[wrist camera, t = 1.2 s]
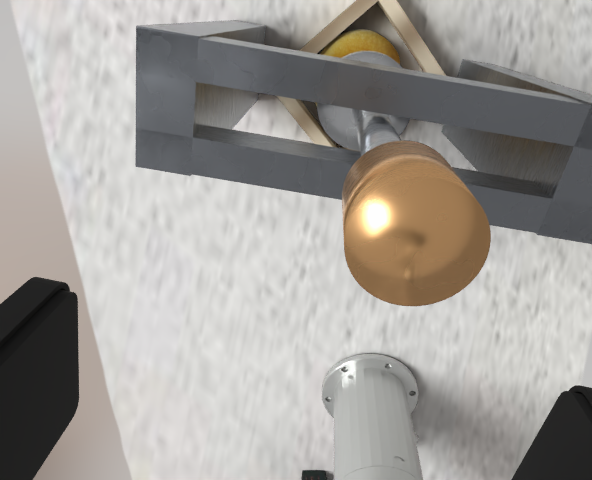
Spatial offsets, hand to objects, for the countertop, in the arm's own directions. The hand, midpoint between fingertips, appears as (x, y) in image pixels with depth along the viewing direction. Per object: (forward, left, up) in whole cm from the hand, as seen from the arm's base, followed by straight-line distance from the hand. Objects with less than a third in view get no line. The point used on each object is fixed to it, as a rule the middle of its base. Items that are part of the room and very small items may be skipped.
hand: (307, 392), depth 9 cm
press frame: (-1, -3, -42) cm, 42 cm away
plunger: (-1, -3, -30) cm, 30 cm away
